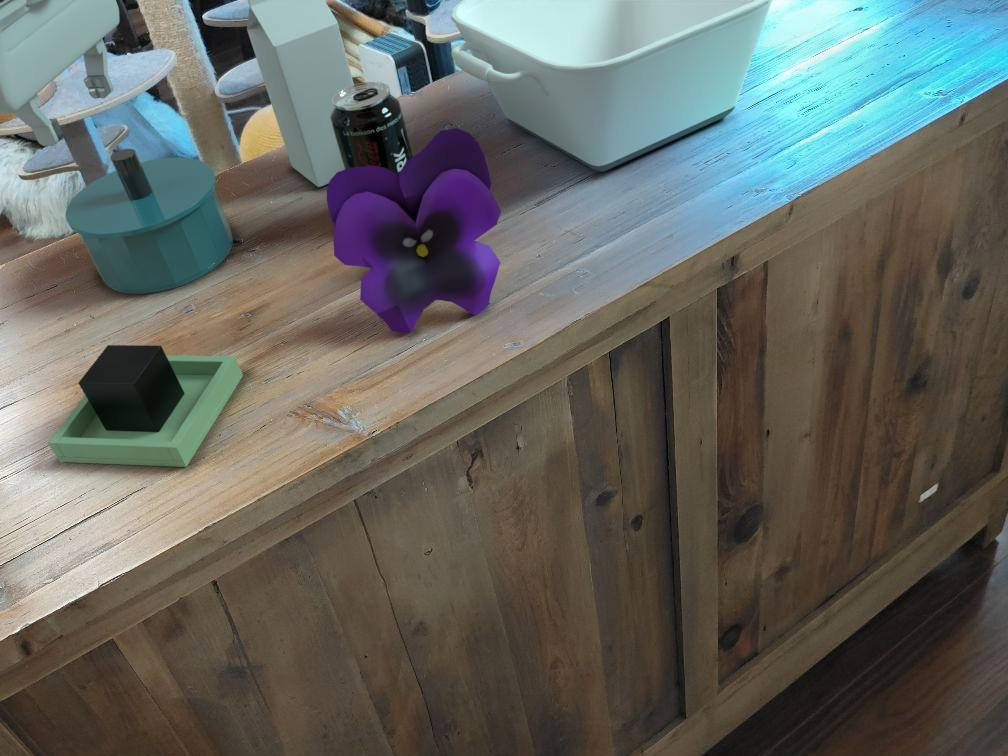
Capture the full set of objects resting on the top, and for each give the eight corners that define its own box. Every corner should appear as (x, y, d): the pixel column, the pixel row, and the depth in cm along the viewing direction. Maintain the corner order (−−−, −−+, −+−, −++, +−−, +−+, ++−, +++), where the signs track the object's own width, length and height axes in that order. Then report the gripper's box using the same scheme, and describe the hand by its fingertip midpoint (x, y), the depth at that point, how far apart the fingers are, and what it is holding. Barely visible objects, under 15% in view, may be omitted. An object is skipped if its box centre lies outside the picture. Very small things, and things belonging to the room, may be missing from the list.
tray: (59, 462, 82) (47, 442, 81) (125, 373, 90) (115, 354, 88) (186, 467, 79) (176, 447, 78) (243, 375, 87) (235, 355, 85)
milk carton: (375, 165, 111) (326, -21, 98) (318, 189, 109) (260, 2, 95) (347, 145, 116) (296, -36, 102) (292, 168, 114) (232, -13, 100)
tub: (559, 225, 97) (541, 92, 88) (427, 139, 114) (401, 20, 105) (821, 103, 107) (830, -28, 98) (665, 41, 124) (660, -76, 115)
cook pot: (77, 294, 101) (46, 236, 96) (139, 222, 109) (113, 166, 105) (199, 294, 97) (173, 234, 93) (253, 220, 106) (231, 162, 102)
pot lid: (42, 245, 96) (15, 195, 92) (115, 169, 106) (93, 122, 102) (179, 243, 93) (156, 191, 89) (241, 165, 102) (223, 115, 99)
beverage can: (435, 210, 102) (408, 92, 94) (376, 236, 100) (343, 118, 92) (405, 187, 107) (377, 72, 98) (348, 211, 105) (314, 96, 96)
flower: (361, 334, 98) (361, 348, 85) (312, 175, 93) (306, 164, 80) (505, 295, 99) (526, 303, 86) (464, 137, 94) (481, 120, 82)
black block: (105, 430, 83) (77, 382, 80) (133, 392, 86) (107, 344, 83) (159, 432, 82) (133, 383, 78) (185, 393, 85) (161, 345, 82)
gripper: (36, -87, 90) (102, 70, 100) (-103, 0, 77) (-11, 172, 87) (99, -92, 89) (159, 68, 99) (-32, -4, 75) (53, 171, 85)
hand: (79, 118), depth 93 cm, fingers open, 8 cm apart
